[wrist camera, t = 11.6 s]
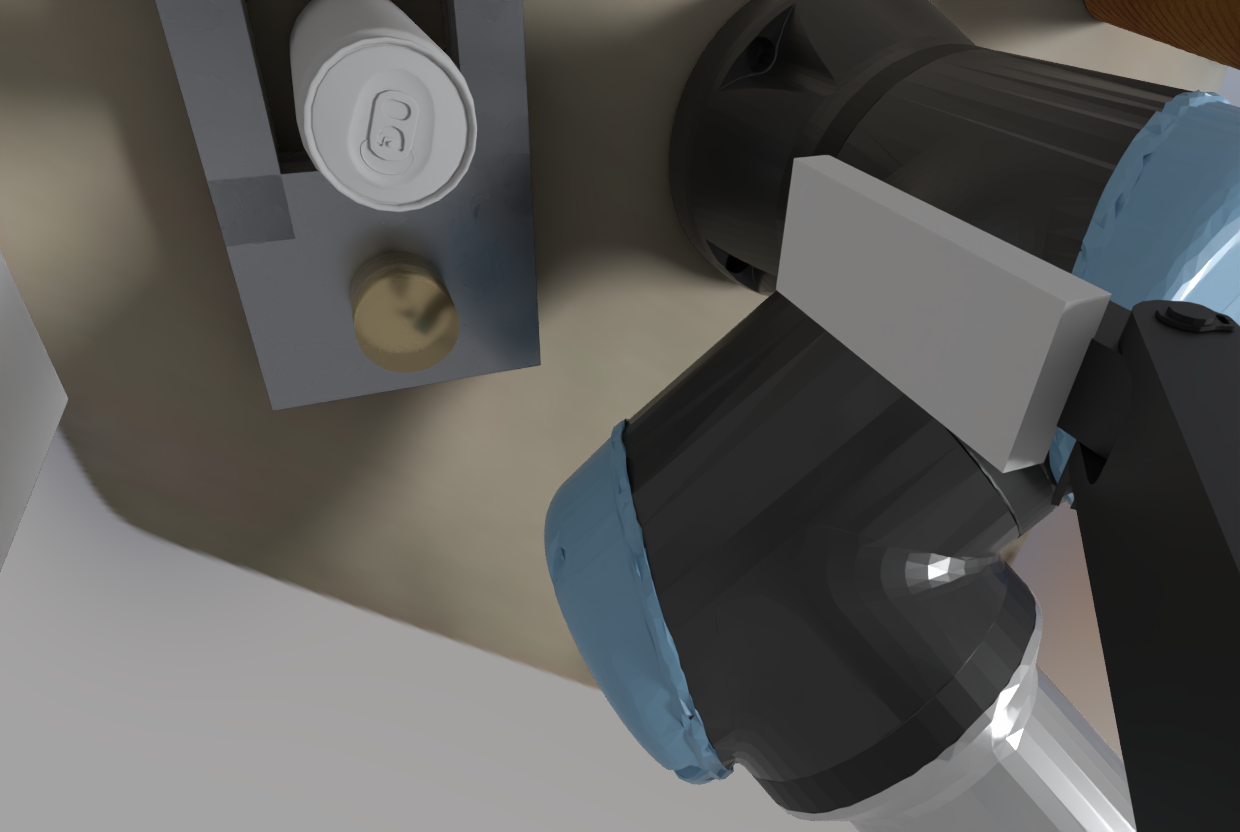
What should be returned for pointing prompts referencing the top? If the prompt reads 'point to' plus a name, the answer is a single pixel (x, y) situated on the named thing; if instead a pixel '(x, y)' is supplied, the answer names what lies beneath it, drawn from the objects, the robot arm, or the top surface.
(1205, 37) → the disposable coffee cup
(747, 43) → the robot arm
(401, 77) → the beverage can
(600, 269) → the top surface
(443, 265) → the marble inkwell stand
